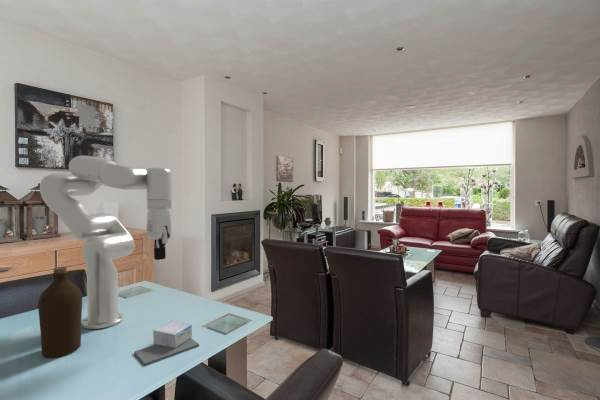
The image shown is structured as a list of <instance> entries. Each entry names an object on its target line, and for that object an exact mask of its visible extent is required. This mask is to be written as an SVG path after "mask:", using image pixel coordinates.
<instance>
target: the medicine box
mask: <svg viewBox="0 0 600 400" xmlns="http://www.w3.org/2000/svg"><path fill="white" fill-rule="evenodd" d="M152 332H153V334H152V338H153V340H152V341H153V345H155V344H157V345H162V346H166V347H171V348H176V347H178V346H179V345H181V344H182V343H184V342H185V341H187V340H188V339H190V338H192V337H193V325H192V324H190V323H186V322H180V321H175V320H170V321H168V322H167V323H164V324H163V325H161V326H159V327H157V328H155V329H154V330H152Z"/></svg>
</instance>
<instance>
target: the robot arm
mask: <svg viewBox="0 0 600 400" xmlns="http://www.w3.org/2000/svg"><path fill="white" fill-rule="evenodd" d="M68 170H69V172H70V173H69V172H68V173H67V172H63V173H62V172H55V173H51V174H48V175H46V176H44V177H43V178H42V179H41V181H40V184H39V192H40V196H41V198H42V200H43V202H44V203H45V204H46V206H47V207H48V208H49V209H51V212H54V213H55V214H56V215H57V217H59V219H60V220H61V221H62V223H63V224H64V225H65V226H66V228H67V229H68V230H69V231H70V233H71V234H72V235H73V236H74V237H75V239H77V240H79V241H85V243H84V244H83V246H82V254H83V258H84V259H83V260H84V263H85V267H86V286H87V288H86V291H87V293H86V295H87V297H86V298H87V302H86V303H87V318H85V319H84V320H82V327H83V328H85V329H86V330H87V329H88V330H101V329H105V328H110V327H112V326H116V325H117V324H119V323H120V322H122V321H123V320H124V315H123V313H121V312H119V277H118V275H119V274H118V273H119V272H118V269H117V267H116V265H115V264H114V262H113V260H117V259H120V258H125V257H127V256H130V255H131V254H132V253H133V252H134V251H135V248H136V246H135V245H136V243H135V239H134V237H133V236H132V235H131V233H130V232H129V231H128V230H127V229H126V227H125V226H124V225H123V224H122V222H121V221H120V220H119V219H118V218H117V217H116V216H115V215H113V214H111V213H107V212H102V213H101V212H99V213H92V212H90V211H89V210H88V209H87V208H86V207H85V205H84V204H83V203H82V202H80V201H79V200H77V199H76V198H73V196H74V197H75V196H89V195H92V194H93V193H94V192H96V191H97V190H98V189H100V188H101V186H103V185H104V186H106V187H110V188H114V189H120V190H125V191H126V190H129V191H130V190H139V191H140V190H143V191H144V190H146V210H147V214H146V215H147V216H146V237H147V238H148V239H151V240H152V241H153V259H154V260H156V261H158V260H165V259H166V247H167V244H168V243H169V239H170V238H171V237H172V221H171V219H172V218H171V210H172V171H171V169H170V168H165V167H150V168H149V167H139V166H127V165H119V164H117V163H116V162H115V161H113V160H110V159H108V158H105V157H101V156H100V157H99V156H93V155H92V156H90V155H77V156H75V157H73V158H71V160H70V161H69V163H68Z"/></svg>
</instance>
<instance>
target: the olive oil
mask: <svg viewBox="0 0 600 400" xmlns="http://www.w3.org/2000/svg"><path fill="white" fill-rule="evenodd" d="M67 269H68V268H67V266H57V267H54V268H53V273H52V275H53V280H52V282H51V283H50V285H48V287H46V288H45V289H44V290H43V292H41V294H40V296H39V298H38V301H37V308H38V317H39V328H40V329H39V330H40V343H41V344H40V345H41V356H42V357H44V358H48V359H52V358H53V359H54V358H55V357H56V358H61V357H64V355H65V356H68V355H70V354H72V352H73V353H75V352H76V351H78V350H79V349H80V348H81V346H82V318H83V317H82V312H83V294H82V291H81V289H80V287H78V286H77V285H76V284H74V283H73V282H72V281H70V280H69V279H68V270H67ZM79 347H80V348H79ZM78 348H79V349H78ZM77 349H78V350H77ZM74 351H75V352H74ZM69 353H70V354H69ZM67 354H68V355H67ZM60 356H61V357H60Z"/></svg>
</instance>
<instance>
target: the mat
mask: <svg viewBox="0 0 600 400" xmlns="http://www.w3.org/2000/svg"><path fill="white" fill-rule="evenodd" d="M199 346H200V343H198V342H197V341H196V340H194V339H193V338H192V337H191V338H190V339H188V340H187V341H185V342H184V343H182V344H181V345H179V346H178V347H176V348H171V347H166V346H162V345H157V344H152V345H150V346H147V347H144V348H140V349H137V350H134V353H133V354H134V355H135V356H136V357H137V358H138V360H139V361H141V363H142V364H143V365H144V366H148V365H151V364H154V363H156V362H160V361H161V360H165V359H167V358H170V357H173V356H175V355H178V354H181V353H184V352H186V351H190V350H191V349H192V350H193V349H195V348H197V347H199Z"/></svg>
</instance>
